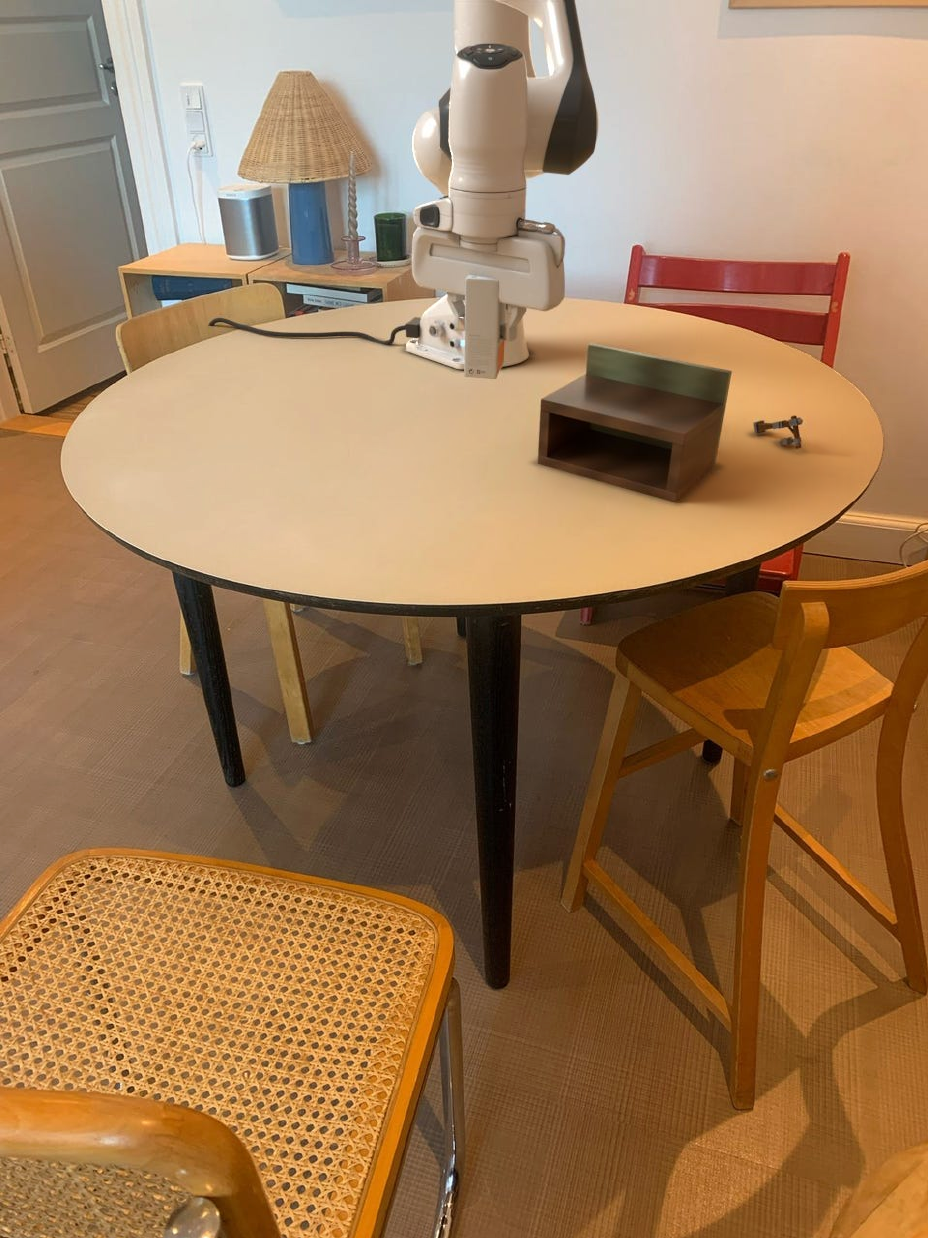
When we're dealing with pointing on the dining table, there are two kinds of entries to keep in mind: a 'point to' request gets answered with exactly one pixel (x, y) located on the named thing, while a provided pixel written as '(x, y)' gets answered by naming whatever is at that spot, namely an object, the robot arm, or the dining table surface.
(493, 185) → the robot arm
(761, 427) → the wooden post with brackets
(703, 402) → the shelf
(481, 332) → the cosmetic box
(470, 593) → the dining table surface
